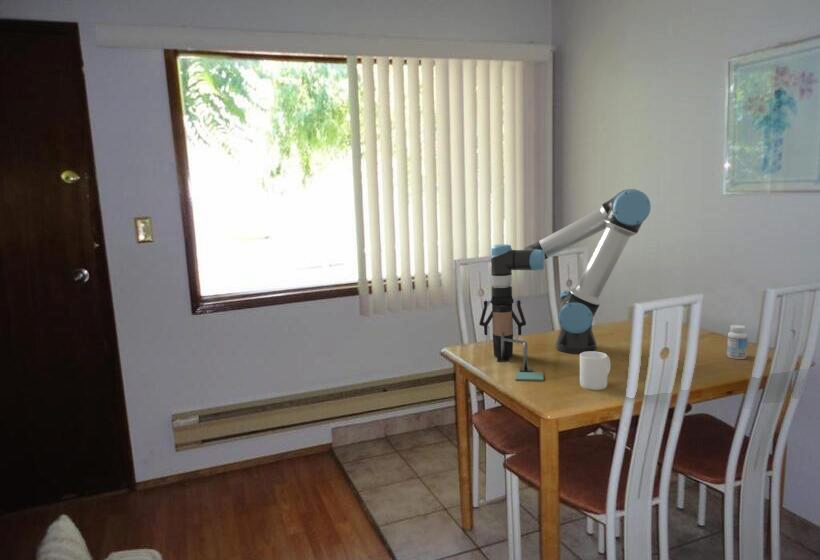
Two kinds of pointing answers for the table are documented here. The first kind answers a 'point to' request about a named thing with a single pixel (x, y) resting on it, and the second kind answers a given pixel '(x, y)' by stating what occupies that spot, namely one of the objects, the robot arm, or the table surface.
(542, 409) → the table surface
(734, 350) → the pill bottle
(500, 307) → the travel mug
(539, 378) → the coaster
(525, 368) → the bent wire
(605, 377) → the cup
